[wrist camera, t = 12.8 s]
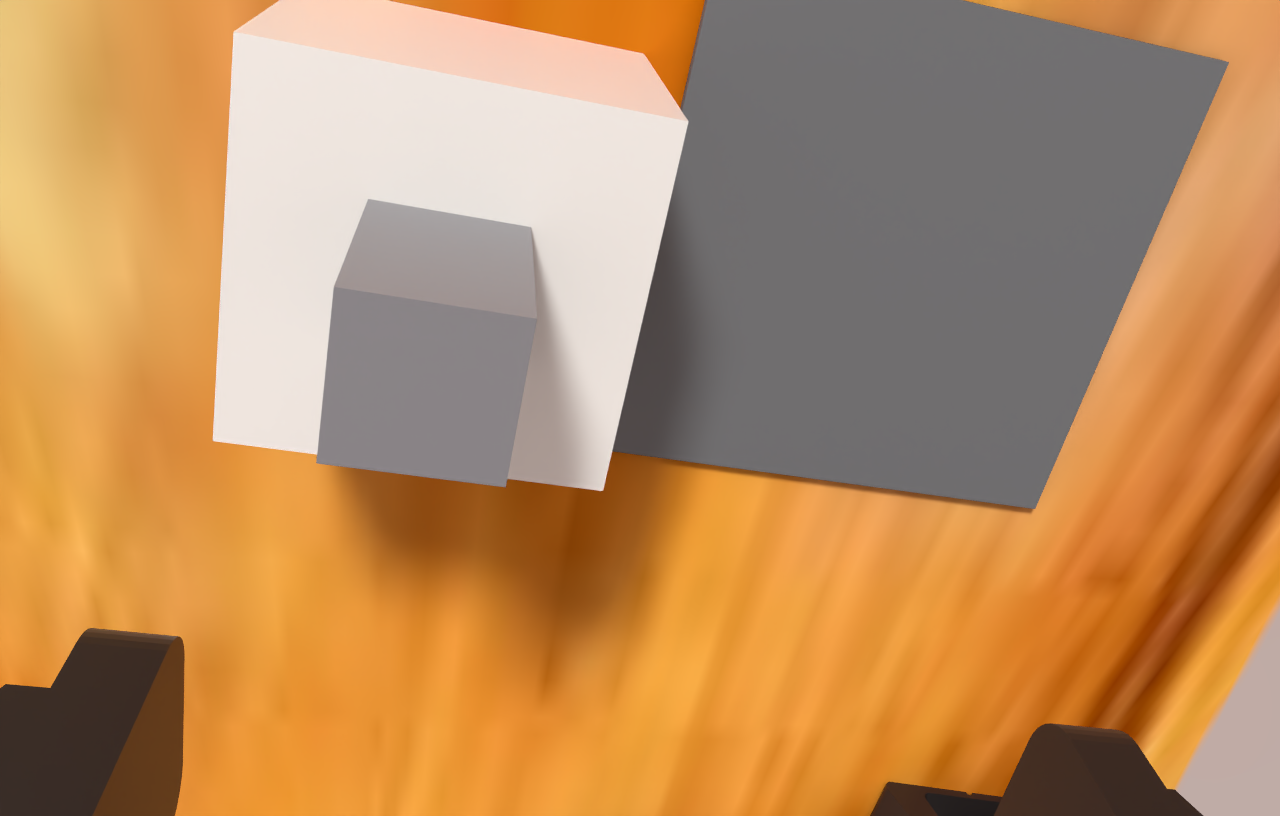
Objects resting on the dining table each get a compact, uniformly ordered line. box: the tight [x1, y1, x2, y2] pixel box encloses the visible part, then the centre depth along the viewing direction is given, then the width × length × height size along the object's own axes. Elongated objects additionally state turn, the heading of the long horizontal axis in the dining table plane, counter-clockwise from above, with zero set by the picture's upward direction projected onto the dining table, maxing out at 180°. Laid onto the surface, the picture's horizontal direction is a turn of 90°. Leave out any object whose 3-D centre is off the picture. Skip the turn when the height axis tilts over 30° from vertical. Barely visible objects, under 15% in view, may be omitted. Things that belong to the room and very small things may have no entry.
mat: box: [612, 0, 1229, 509], centre depth 39 cm, size 18×18×1 cm
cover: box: [213, 0, 689, 491], centre depth 30 cm, size 11×11×16 cm
